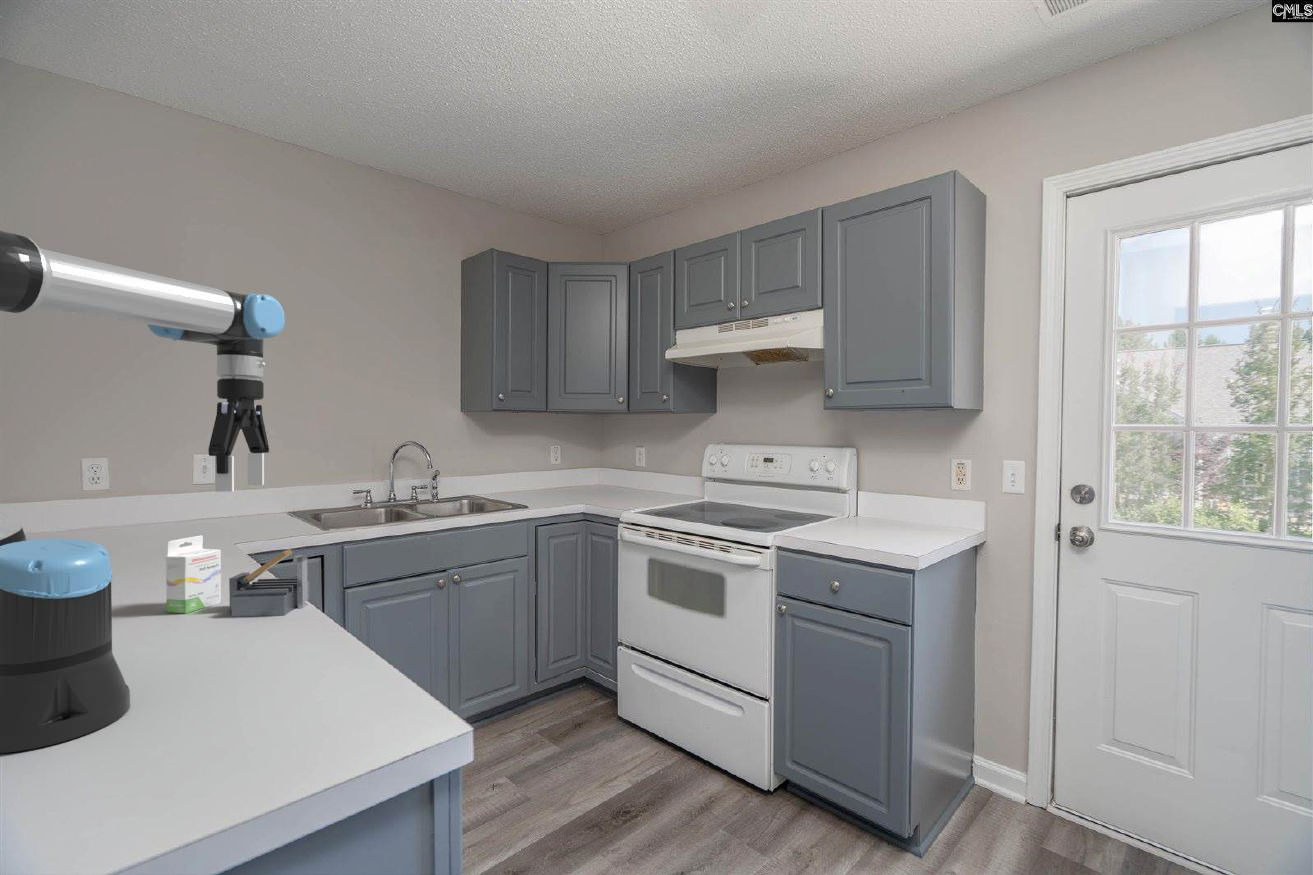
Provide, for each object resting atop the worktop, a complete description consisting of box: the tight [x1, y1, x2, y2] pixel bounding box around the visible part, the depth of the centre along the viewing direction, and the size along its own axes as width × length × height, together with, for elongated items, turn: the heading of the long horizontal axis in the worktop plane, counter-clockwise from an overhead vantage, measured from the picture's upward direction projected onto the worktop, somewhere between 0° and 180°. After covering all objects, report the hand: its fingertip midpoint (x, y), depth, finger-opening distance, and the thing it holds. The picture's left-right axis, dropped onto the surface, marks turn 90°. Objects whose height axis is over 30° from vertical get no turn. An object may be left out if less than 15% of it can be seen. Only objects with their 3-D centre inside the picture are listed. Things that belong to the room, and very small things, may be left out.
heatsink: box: [228, 554, 311, 618], centre depth 132 cm, size 12×14×11 cm
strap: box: [239, 548, 293, 585], centre depth 132 cm, size 4×11×1 cm
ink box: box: [165, 535, 222, 614], centre depth 132 cm, size 9×5×15 cm, turn 168°
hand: (241, 488), depth 121 cm, fingers open, 13 cm apart
